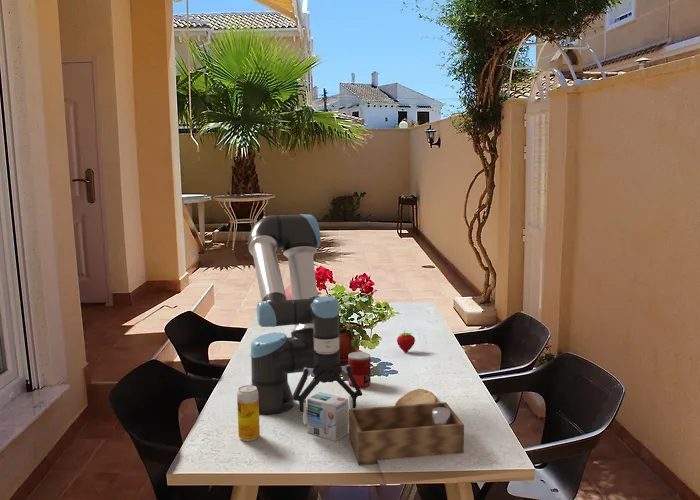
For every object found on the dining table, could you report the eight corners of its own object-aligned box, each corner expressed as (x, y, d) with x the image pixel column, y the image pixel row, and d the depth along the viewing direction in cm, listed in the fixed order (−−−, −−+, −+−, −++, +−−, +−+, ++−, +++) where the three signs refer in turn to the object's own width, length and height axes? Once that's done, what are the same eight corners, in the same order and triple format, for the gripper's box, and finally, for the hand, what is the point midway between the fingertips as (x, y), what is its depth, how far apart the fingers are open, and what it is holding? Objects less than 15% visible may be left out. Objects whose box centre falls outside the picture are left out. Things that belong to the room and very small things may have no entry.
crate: (358, 465, 169) (358, 433, 168) (349, 438, 185) (348, 409, 184) (463, 456, 174) (464, 424, 173) (445, 431, 190) (445, 402, 188)
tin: (434, 445, 178) (435, 414, 177) (429, 437, 183) (429, 407, 182) (451, 444, 179) (452, 413, 178) (446, 436, 184) (446, 406, 182)
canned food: (368, 389, 223) (368, 359, 221) (346, 387, 225) (346, 357, 223) (372, 381, 231) (372, 352, 229) (350, 380, 232) (350, 351, 230)
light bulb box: (306, 433, 189) (305, 398, 188) (320, 424, 195) (319, 391, 193) (336, 441, 183) (335, 406, 182) (349, 433, 189) (349, 398, 187)
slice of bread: (427, 393, 220) (427, 382, 220) (452, 412, 204) (453, 401, 203) (379, 400, 214) (379, 389, 214) (401, 421, 197) (401, 409, 197)
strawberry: (416, 354, 260) (416, 330, 259) (398, 355, 259) (398, 331, 258) (413, 350, 266) (413, 326, 264) (395, 350, 265) (395, 327, 264)
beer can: (234, 437, 186) (232, 388, 184) (251, 431, 191) (250, 383, 188) (246, 444, 182) (245, 394, 180) (264, 437, 186) (262, 388, 184)
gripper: (284, 357, 180) (286, 429, 182) (371, 351, 183) (372, 422, 186) (282, 349, 187) (284, 418, 190) (366, 344, 191) (367, 412, 194)
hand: (328, 420), depth 188 cm, fingers open, 13 cm apart
